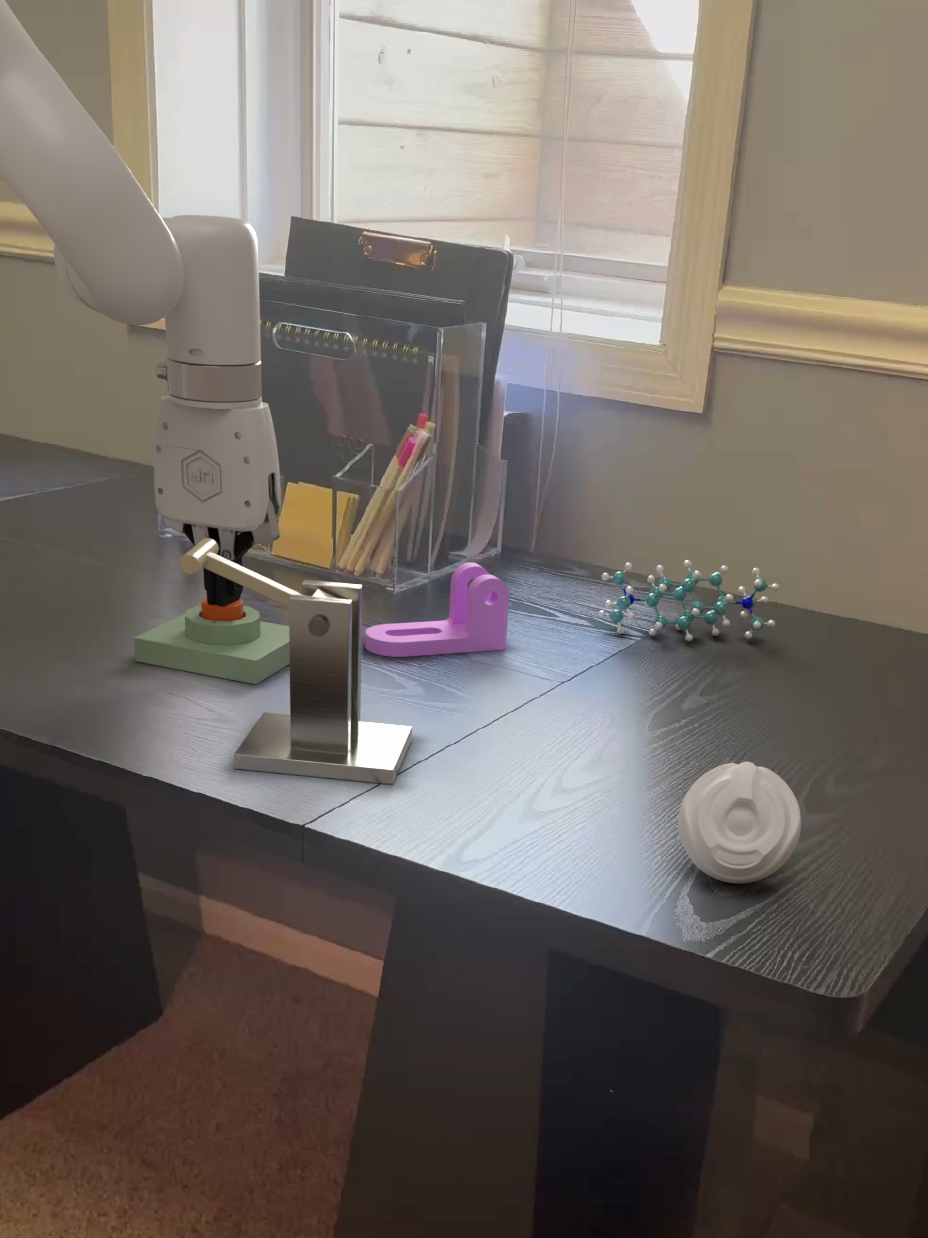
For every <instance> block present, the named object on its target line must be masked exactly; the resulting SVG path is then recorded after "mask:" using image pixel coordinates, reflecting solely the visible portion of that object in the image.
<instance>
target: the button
mask: <svg viewBox="0 0 928 1238" xmlns="http://www.w3.org/2000/svg"><path fill="white" fill-rule="evenodd" d="M200 605H201V609H202V618H204V619H207V620H213V621H233V620H239V619H242V618H243V606H244V603H243V600H242V599H241V598H240V599H239V600H237V601H235V602H233V603H231V604H229V605H227V606H225V607H224V606H219V605H218V604H214V605H212V604H208V603H207V597H205V598H203V599H202V600H201V601H200Z"/></svg>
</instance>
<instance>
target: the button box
mask: <svg viewBox="0 0 928 1238" xmlns="http://www.w3.org/2000/svg"><path fill="white" fill-rule="evenodd" d="M260 615H261V614H260V611H259V610H257V609H255V608H253V607H250V606H248V605H243V618H242V619H239V620H233V621H213V620H207V619H204V618H202V609H201V604H199V605H195V606H192V607H190V608H189V609H186V610H185V611H184V613H182V614H179V615H178V616H176V617H174V618H172V619H170V620H167V621H166V622H164V623H162V624H159V625H157V626H155V627H153V628H151V629H149V630H147V631H145V632H143V633H141V634H139V635H136V636H135V637H134V638H133V642H134V644H133V645H134V656H135V659H134V660H135V662H138V663H143V664H148V665H153V666H157V667H158V666H159V667H163V668H167V669H168V668H169V669H173V670H178V671H184V672H190V673H195V674H200V675H205V676H210V677H215V678H220V679H225V680H230V681H236V682H241V683H247V684H251V685H258V684H259V683H261V682H263V681H264V680H266V679H268V678H269V677H271V676H272V675H274V674H276V673H277V672H280V671H281V670H283V669H284V668H286V667H287V666H288V665H289V666H290V647H289V625H285V624H279V623H273V622H269V621H268V622H267V621H262V620H261V617H260Z"/></svg>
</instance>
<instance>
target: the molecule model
mask: <svg viewBox="0 0 928 1238" xmlns="http://www.w3.org/2000/svg"><path fill="white" fill-rule="evenodd" d="M692 564H693V563H692V561H691V560H689V559H685V561H684V562H683V567H684V568H685V569H687V570H688V573H687V574H686V577H685V579H684V580H683V582H682V583H673V582H672V580H671V579H670V578H669V577H665V576H664V571H665V568H664V565H662V564H661V565H660V564H659V565H657V566H656V567H655V571H656V573H657V574H660V577H661V578H660V579H659V580H658V582H657V585H658V586H656V585H655V581H656V577H655V576H654V575H652V574H649V575H648V576H647V582H648V583H649V584H651V586H652V588H651V589H650V591H649V594H647V595H646V598H635V596H634V595H633V593H634V590H635V589H634V588H633V586H630V585H628V586H627V587H626V588H625V585H624V584H625V582H626V581H627V575H626V573H627V571H628V572H629V571H631V570H632V569H633V564H632V563H631V562H626V563H625V564H624V570H623V571H617V572H615V573H613V575H610V574H609V573H608V572H603V573H602V574H601V576H600V577H601V580H602V581H604V582H606V581H608V580H609V579H610V580H612V582H613V584H615V585H616V586H620V587H621V589H622V592H623V593H624V594H623V595H622V596H620V597H619V598H617V602H612V601H611V600H605V602H604V607H605V608H606V609H611V608H612V607H613V606H617V607H618V609H617V608H616V609H613V610H612V611H611V612H610V613H606V611H605V610H603V609H601V610H599V611H598V613H597V616H598V617H599V618H600V619H604V618H605V617H609V619H610V620H611V621H612V622H613V623H616V624H617V626H618V627H617V628H616V632H617V634H618V635H623V634H624V633H625V628H624V626H621V622H622V621H623V619H624V617H625V612H624V611H625V610H626V612H627V614H626V618H627V619H628V620H629V621H633V620H635V618H636V614H635V612H632V611H630V609H629V608H630V607H631V606H632V605H633V604H634V603H635V602H644V605H645V607H646V608H653V609H654V612H655V614H656V617H654V620H653V625H654V628H651V629H649V630H648V635H649V636H650V637H655V636H656V635H657V631H660V630H662V629H664V628H666V627H667V625H672V624H673V625H675V629H676V630H677V631H681V630H684V631H685V634H686V635H685V637H684V640H685V641H686V642H688V643H690V642H692V641H693V639H694V636H693V634H691V633H689V628H690V626H691V624H692V622H693V621H694V619H701V620H704V622H705V623H706V624H707V625H711V627H712V629H711V635H712V636H713V637H718V636H719V635H720V630H719V629H718V628H716V625H715V624H716V623H717V621H718V616H721V617H722V619H723V620H722V622H721V624H722V626H723V627H724V628H728V627H729V626H730V625H731V621H730V620H729V619H728V618H726V615H725V614H727V613H728V609H729V607H730V605H741V608H742V609H744V610H743V611H741V612H740V614H739V616H740V618H741V619H742V620H745V619H747V618H748V615H749V614H748V611H749V613H750V615H751V617H752V619H751V620H750V622H749V625H750V628H751V629H750V630H748V631H746V632H745V633H744V638H745V639H746V640H751V639H752V638H753V636H754V635H753V632H754V631H760V630H761V629H763V627H764V626H768V628H775V626H776V621H775V620H773V619H769V620H768V621H767V622H764V620H763V618H761V617H760V616H755V613H754V612H753V610H752V609H753V608H754V607H755V606H756V605H757V603H761V604H762V605H766V604H768V602H769V598H768V597H767V596H765V595H763V596H761V597H760V599H756V597H754V596H755V595H756V594H757V593H758V592H760V593H762V592H764V591H765V590H766V589H767V588H770V589H771V590H772V592H778V591H779V590H780V585H779V584H778V583H776V582H775V583H773V584H771V585H770V584H768V582H767V580H766V579H765V578H763V577H760V574H761V569H760V568H759V567H754V568H753V569H752V570H751V573H752V575H753V576H755V577H756V579H755V580H754V582H753V588H754V591H753V592H752V594H750V595H747V594H746V591H747V589H746V587H745V586H739V587H738V588H737V593H738V594H740V595H743V598H742V599H741V601H734V595H733V594H731V593H728V594H726V595H723V593H722V590H721V587H720V586H721V585H722V583H723V576H722V575H724V574H727V573H729V567H728V565H722V566H720V572H719V571H716V572H714V573H712V574H710V576H709V578H708V577H702V573H701V571H699V570H695V571H692V569H691V567H692V566H693V565H692ZM700 581H702V582H703V581H704V582H707V581H708V582H709V584H710V586H713V587H716V588H717V591H718V594H719V597H718V598H717V600H716V603H715V604H714V606H705V605H704V603H703V602H702V601H701V600H697V599H696V598H695V594H694V592H693V591H695V589H696V585H698V584H699V582H700ZM672 587H677V588H675V589H674V591H673V592H668V591H670V589H671V588H672ZM687 593H690V595H691V598H692V601H693V602H692V603H691V604H690V609H687V607H686V604H685V601H684V600H685V599H686V597H687ZM663 596H673V598H674V600H676V601H678V602H681V605H682V608H683V611H682V613H681V614H680V617H679V618H678V619H677V621H676V620H675V621H674V620H673V621H672V620H668V618H667V617H666V616H665V615H661V614H660V613H659V610H658V608H657V606H658V605H659V603H660V600H661V599H662V598H663ZM704 610H709V611H707V612H705V614H704V615H701V614H702V613H703V612H704Z"/></svg>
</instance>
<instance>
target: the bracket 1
mask: <svg viewBox="0 0 928 1238" xmlns="http://www.w3.org/2000/svg"><path fill="white" fill-rule="evenodd" d="M317 589H319V590H321V591H323V592H326V593H328V594H330V595H332V596H334V597H336V598H338V599H336V598H326V597H315V596H313V594H314V593H315V592H316V591H317ZM301 594H302V595H291V597H290V598H289V607H288V616H289V617H288V626H289V647H290V664H289V714H286V713H276V712H268V711H267V712H265V711H264V712H263V713H262V714H261V716H260V717H259V719H258V720H257V722H256V723H255V724H254V726H253V727H252V728H251V730H250V731H249V733H248V734H247V735H246V737H245V738H244V740H243V741H242V742H241V744H240V745H239V746H238V747H237V749H236V750H235V752H234V753H233V767H234V769H235V770H245V771H254V772H264V773H276V774H284V775H295V776H296V775H297V776H303V777H304V776H305V777H316V778H325V779H335V780H345V781H353V782H354V781H356V782H363V783H365V782H367V783H375V784H383V785H393V784H394V782H395V780H396V778H397V775H398V773H399V772H400V768H401V766H402V764H403V761H404V760H405V757H406V754H407V752H408V750H409V747H410V744H411V743H412V740H413V727H412V726H411V725H410V726H408V725H398V724H390V723H389V724H388V723H378V722H370V721H369V722H368V721H361V708H362V707H361V706H362V705H361V702H362V699H361V698H362V646H363V645H362V641H363V637H362V635H363V584H355V583H345V582H335V581H321V580H312V579H304V580H303V581H302V582H301Z"/></svg>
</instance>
